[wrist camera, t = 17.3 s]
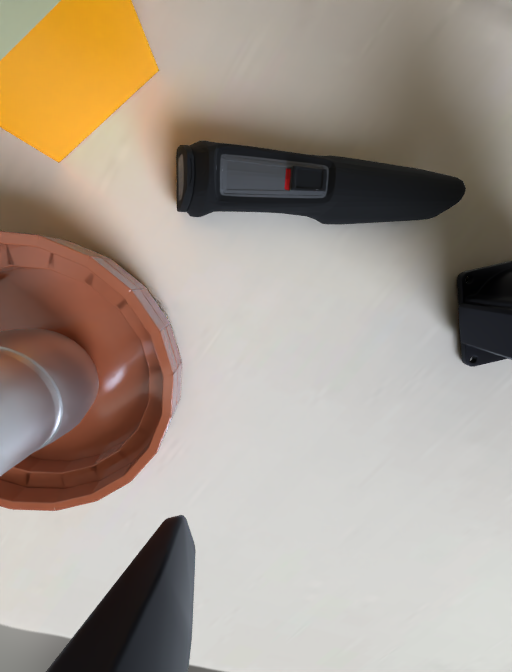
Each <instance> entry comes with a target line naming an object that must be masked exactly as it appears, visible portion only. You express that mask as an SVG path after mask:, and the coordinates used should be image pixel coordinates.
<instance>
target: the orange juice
mask: <svg viewBox="0 0 512 672" xmlns="http://www.w3.org/2000/svg"><path fill="white" fill-rule="evenodd" d="M158 71H159V69H158V67H157V64H156V62H155V59H154V56H153V54H152V51H151V49H150V46H149V44H148V41H147V39H146V36H145V34H144V31H143V29H142V26H141V24H140V21H139V19H138V16H137V14H136V11H135V9H134V6H133V4H132V1H131V0H0V127H1V128H3V129H4V130H6V131H8V132H9V133H11V134H12V135H14V136H16V137H17V138H19V139H21V140H22V141H24V142H26V143H27V144H29V145H31V146H32V147H34V148H36V149H37V150H39V151H40V152H42V153H44V154H45V155H47V156H49V157H50V158H52V159H54V160H55V161H57V162H60V161H61V160H63V159H64V158H65V157H66V156H67V155H68V154H69V153H70V152H71V151H72V150H73V149H74V148H76V147H77V146H78V145H79V144H80V143H81V142H82V141H83V140H84V139H85V138H86V137H87V136H89V135H90V134H91V133H92V132H93V131H94V130H95V129H96V128H97V127H98V126H99V125H100V124H101V123H103V122H104V121H105V120H106V119H107V118H108V117H109V116H110V115H111V114H112V113H113V112H114V111H116V110H117V109H118V108H119V107H120V106H121V105H122V104H123V103H124V102H125V101H126V100H127V99H129V98H130V97H131V96H132V95H133V94H134V93H135V92H136V91H137V90H138V89H139V88H140V87H142V86H143V85H144V84H145V83H146V82H147V81H148V80H149V79H150V78H151V77H152V76H153V75H155V74H156V73H157V72H158Z"/></svg>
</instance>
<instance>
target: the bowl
mask: <svg viewBox="0 0 512 672" xmlns="http://www.w3.org/2000/svg"><path fill="white" fill-rule="evenodd" d="M14 329H46V330H50V331H55V332H57V333H60V334H62V335H65V336H67V337H68V338H70V339H72V340H73V341H75V342H76V343H77V344H79V345H80V346H81V347H82V348H83V349H84V350H85V351H86V352H87V354H88V355H89V356H90V357H91V359H92V361H93V363H94V365H95V367H96V370H97V374H98V382H99V387H98V393H97V396H96V398H95V401H94V403H93V404H92V406H91V407H90V409H89V410H88V412H87V413H86V415H85V416H84V418H83V419H82V420H81V422H80V423H79V424H78V425H77V426H75V427H74V428H73V429H72V430H71V431H69V432H68V433H66V434H65V435H63V436H62V437H60V438H59V439H57V440H56V441H54V442H52V443H50V444H48V445H47V446H45V447H43V448H41V449H39V450H37V451H36V452H33V453H32V454H31V455H29V456H28V457H26V458H25V459H24V460H22V461H21V462H20V463H18V464H17V465H15V466H14V467H13V468H11V469H10V470H8V471H7V472H6V473H4V474H3V475H2V476H0V506H1V507H4V508H8V509H13V510H44V511H55V510H56V511H57V510H61V509H66V508H70V507H74V506H78V505H83V504H87V503H91V502H95V501H98V500H100V499H101V498H103V497H105V496H107V495H108V494H110V493H112V492H114V491H115V490H117V489H119V488H121V487H122V486H124V485H126V484H128V483H129V482H131V481H132V480H133V479H134V478H135V477H136V476H137V474H138V473H139V472H140V471H141V470H142V469H143V468H144V467H145V465H146V464H147V463H148V462H149V461H150V460H151V459H152V458H153V457H154V455H155V454H156V453H157V452H158V450H159V447H160V445H161V443H162V441H163V439H164V436H165V434H166V432H167V430H168V427H169V425H170V422H171V420H172V418H173V415H174V413H175V410H176V408H177V405H178V403H179V400H180V394H181V371H182V362H181V357H180V354H179V351H178V347H177V344H176V340H175V337H174V334H173V330H172V327H171V324H170V322H169V320H168V319H167V317H166V316H165V314H164V313H163V312H162V310H161V309H160V307H159V306H158V304H157V303H156V301H155V300H154V298H153V297H152V295H151V294H150V292H149V291H148V289H147V288H146V287H145V286H144V285H143V284H141V283H140V282H139V281H138V280H137V279H135V278H134V277H133V276H132V275H130V274H129V273H128V272H127V271H126V270H124V269H123V268H122V267H121V266H119V265H118V264H117V263H116V262H114V261H113V260H112V259H110V258H108V257H106V256H104V255H101V254H99V253H97V252H94V251H92V250H89V249H87V248H85V247H82V246H80V245H78V244H75V243H73V242H70V241H68V240H63V239H58V238H52V237H47V236H41V235H35V234H25V233H15V232H5V231H0V331H6V330H14Z"/></svg>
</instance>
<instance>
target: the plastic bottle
mask: <svg viewBox="0 0 512 672" xmlns="http://www.w3.org/2000/svg"><path fill="white" fill-rule="evenodd" d="M98 387H99V382H98V374H97V370H96V367H95V365H94V363H93V361H92V359H91V357H90V356H89V355H88V354H87V352H86V351H85V350H84V349H83V348H82V347H81V346H80V345H79V344H77V343H76V342H75V341H73V340H72V339H70V338H68V337H67V336H65V335H62V334H60V333H57V332H55V331H50V330H46V329H14V330H6V331H0V476H2V475H3V474H4V473H6V472H7V471H8V470H10V469H11V468H13V467H14V466H15V465H17V464H18V463H20V462H21V461H22V460H24V459H25V458H26V457H28V456H29V455H31V454H32V453H33V452H36V451H37V450H39V449H41V448H43V447H45V446H47V445H48V444H50V443H52V442H54V441H56V440H57V439H59V438H60V437H62V436H63V435H65V434H66V433H68V432H69V431H71V430H72V429H73V428H74V427H75V426H77V425H78V424H79V423H80V422H81V420H82V419H83V418H84V416H85V415H86V413H87V412H88V410H89V409H90V407H91V406H92V404H93V403H94V401H95V398H96V396H97V393H98Z"/></svg>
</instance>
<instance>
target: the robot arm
mask: <svg viewBox="0 0 512 672" xmlns="http://www.w3.org/2000/svg"><path fill="white" fill-rule="evenodd" d="M467 276H468V281H467V282H466V281H465V280H466V277H467ZM457 287H458V303H459V308H458V309H459V325H460V341H461V352H462V361H463V363H464V364H466V365H469V366H477V365H482V364H486V363H490V362H495V361H499V360H503V359H511V360H512V261H509V262H504V263H500V264H496V265H491V266H487V267H482V268H478V269H474V270H469V271H465V272H462V273H461V274H460V275H459V276H458V278H457ZM471 357H472V360H471V361H470V358H471ZM194 574H195V545H194V541H193V538H192V535H191V532H190V529H189V526H188V523H187V520H186V518H185V517H184V516H183V515H179V516H175V517H171V518H168V519H166V520H165V521H164V522H163V523H162V524H161V525H160V527H159V528H158V529H157V531H156V532H155V533H154V534H153V536H152V537H151V538H150V539H149V541H148V542H147V543H146V545H145V546H144V547H143V548H142V550H141V551H140V552H139V553H138V555H137V556H136V557H135V559H134V560H133V561H132V562H131V564H130V565H129V566H128V568H127V569H126V570H125V571H124V573H123V574H122V575H121V576H120V578H119V579H118V580H117V582H116V583H115V584H114V585H113V587H112V588H111V589H110V591H109V592H108V593H107V594H106V596H105V597H104V598H103V599H102V601H101V602H100V603H99V605H98V606H97V607H96V608H95V610H94V611H93V612H92V614H91V615H90V616H89V617H88V619H87V620H86V621H85V622H84V624H83V625H82V626H81V628H80V629H79V630H78V631H77V633H76V634H75V635H74V637H73V638H72V639H71V640H70V642H69V643H68V644H67V645H66V647H65V648H64V649H63V651H62V652H61V653H60V655H59V656H58V657H57V658H56V659H55V661H54V662H53V663H52V665H51V666H50V667H49V668H48V670H47V671H46V672H188V666H189V659H190V649H191V639H192V621H193V598H194Z"/></svg>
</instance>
